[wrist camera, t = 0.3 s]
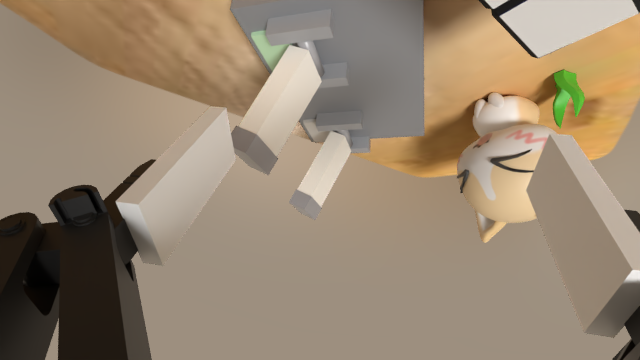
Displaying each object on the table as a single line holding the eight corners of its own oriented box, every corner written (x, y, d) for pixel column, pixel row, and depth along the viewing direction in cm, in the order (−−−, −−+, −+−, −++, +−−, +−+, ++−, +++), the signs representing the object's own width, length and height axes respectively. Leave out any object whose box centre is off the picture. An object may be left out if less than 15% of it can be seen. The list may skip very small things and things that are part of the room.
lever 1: (296, 28, 29) (223, 143, 27) (317, 34, 28) (244, 152, 26) (311, 64, 33) (249, 166, 31) (330, 70, 32) (268, 175, 30)
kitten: (546, 47, 33) (574, 207, 28) (605, 86, 37) (639, 230, 32) (425, 116, 45) (428, 236, 40) (480, 139, 50) (490, 250, 44)
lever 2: (335, 119, 41) (288, 202, 39) (351, 124, 41) (304, 209, 38) (343, 137, 45) (301, 213, 43) (357, 142, 45) (315, 220, 42)
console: (236, -21, 29) (226, 25, 27) (422, -56, 25) (423, -5, 23) (314, 123, 49) (312, 154, 47) (423, 116, 45) (424, 149, 43)
